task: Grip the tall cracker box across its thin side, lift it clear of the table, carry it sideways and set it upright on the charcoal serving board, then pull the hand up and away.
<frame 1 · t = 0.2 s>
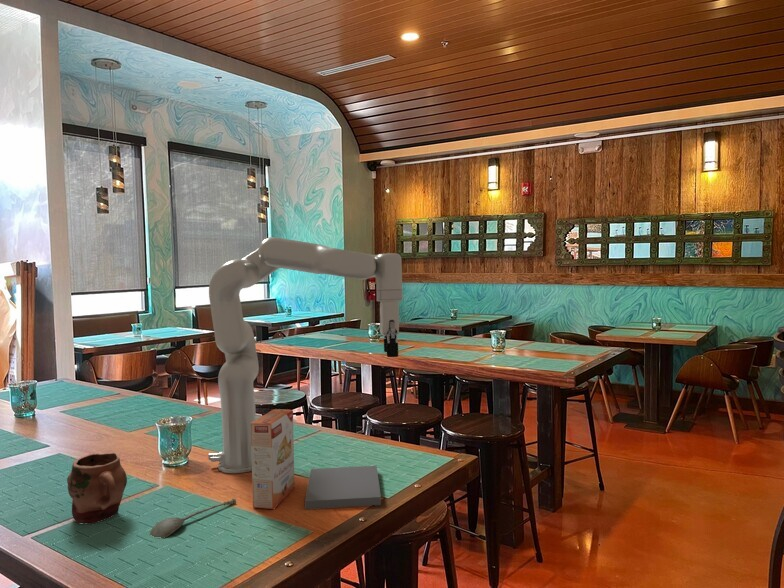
hand: (391, 354, 172), 31 cm above the table, tool pointing down, fingers open, 9 cm apart
soupspoon: (195, 522, 136), on the table
decorative planter: (99, 518, 138), on the table
cracker box: (275, 498, 147), on the table
serving board: (343, 489, 151), on the table
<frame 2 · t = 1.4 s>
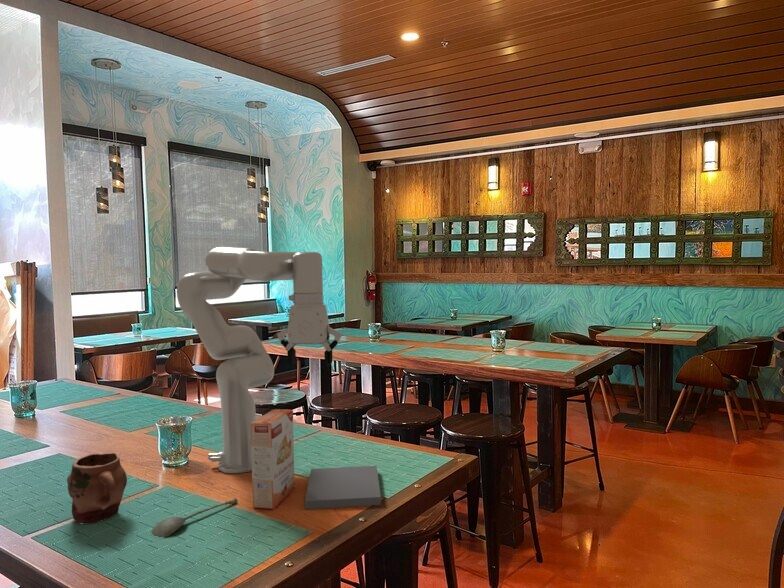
hand: (310, 365, 153), 32 cm above the table, tool pointing down, fingers open, 9 cm apart
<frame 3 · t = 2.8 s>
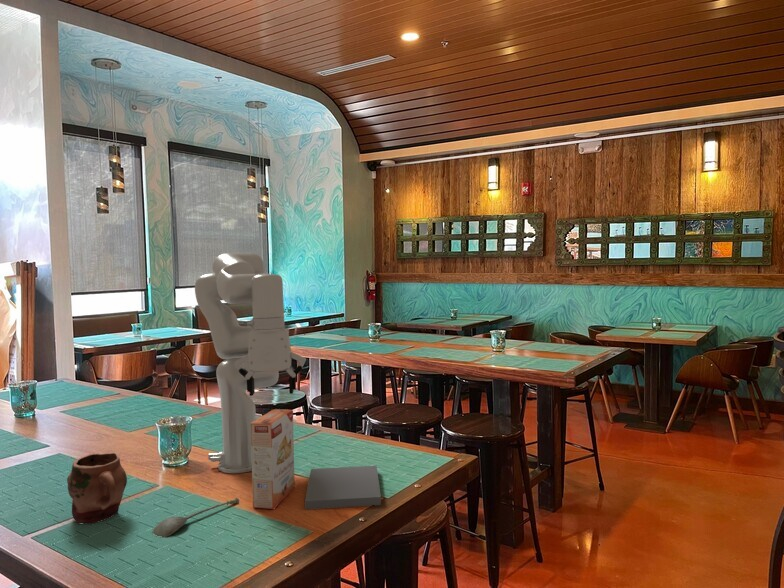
hand: (271, 393, 145), 26 cm above the table, tool pointing down, fingers open, 9 cm apart
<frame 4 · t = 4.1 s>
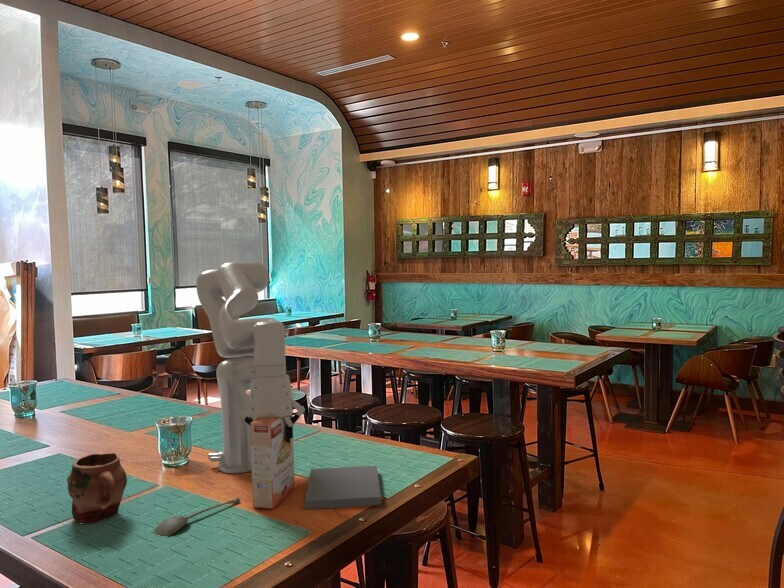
hand: (273, 441, 146), 14 cm above the table, tool pointing down, fingers closed on cracker box, 7 cm apart
cracker box: (275, 498, 147), on the table, touching gripper
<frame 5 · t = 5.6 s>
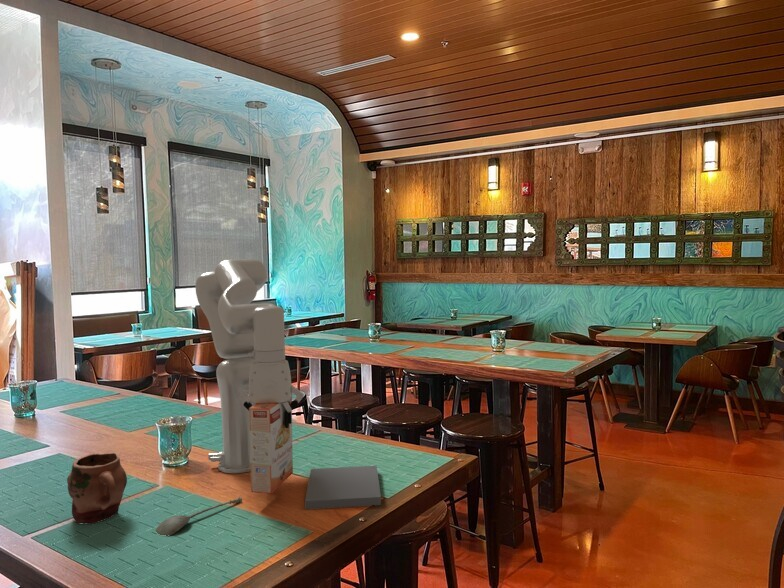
hand: (271, 426, 146), 18 cm above the table, tool pointing down, fingers closed on cracker box, 7 cm apart
cracker box: (273, 483, 147), point 3 cm above the table, touching gripper
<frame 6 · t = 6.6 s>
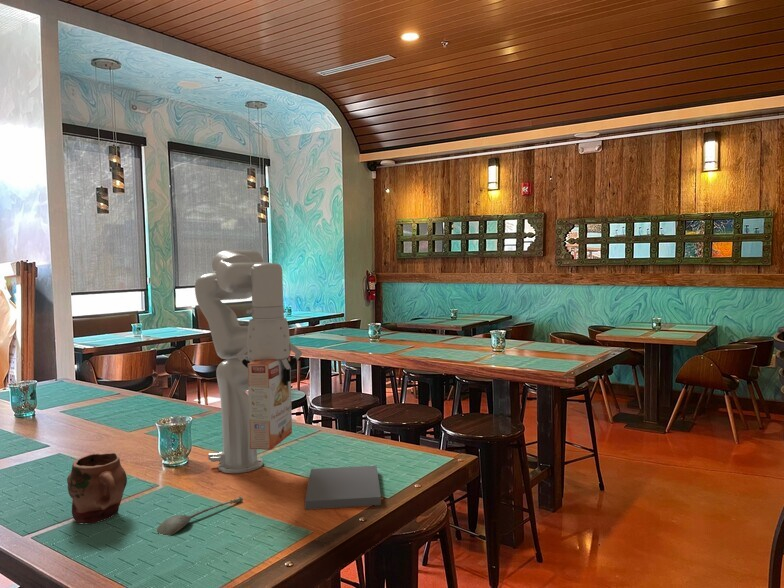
hand: (270, 384, 145), 29 cm above the table, tool pointing down, fingers closed on cracker box, 7 cm apart
cracker box: (272, 442, 146), point 14 cm above the table, touching gripper
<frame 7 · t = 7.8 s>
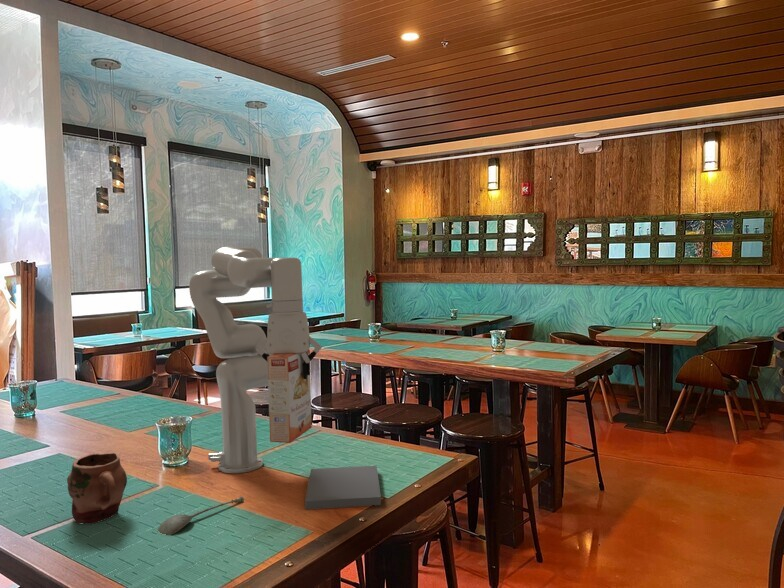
hand: (290, 378, 146), 30 cm above the table, tool pointing down, fingers closed on cracker box, 7 cm apart
cracker box: (292, 435, 147), point 15 cm above the table, touching gripper
when the fingers open (17 cm above the table, at t = 11.5 s): cracker box stays where it is, resting on serving board.
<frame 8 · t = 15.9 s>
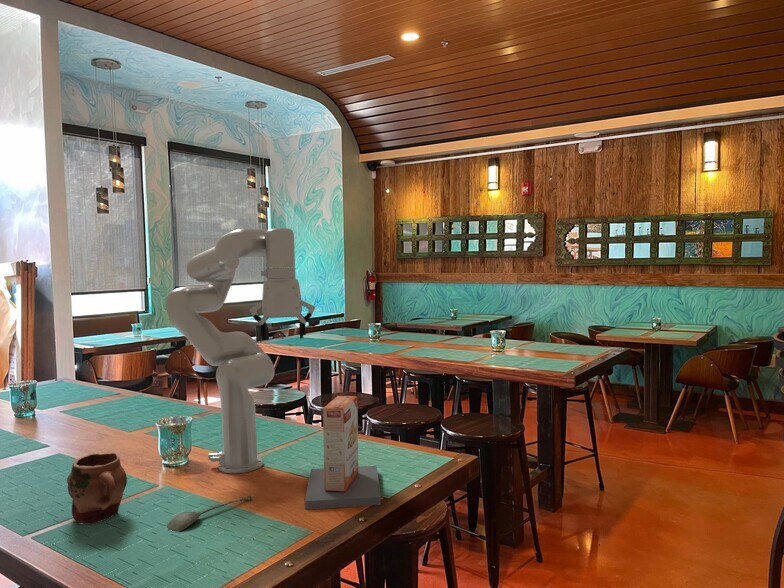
hand: (283, 338, 158), 38 cm above the table, tool pointing down, fingers open, 9 cm apart
soupspoon: (212, 516, 138), on the table
cracker box: (342, 482, 151), point 2 cm above the table, touching serving board
everything else where it was.
at the end: cracker box inside the target area on the serving board (0.2 cm from its centre), point 1.8 cm above the serving board's base; cracker box tilted 0°; the gripper is holding nothing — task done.
